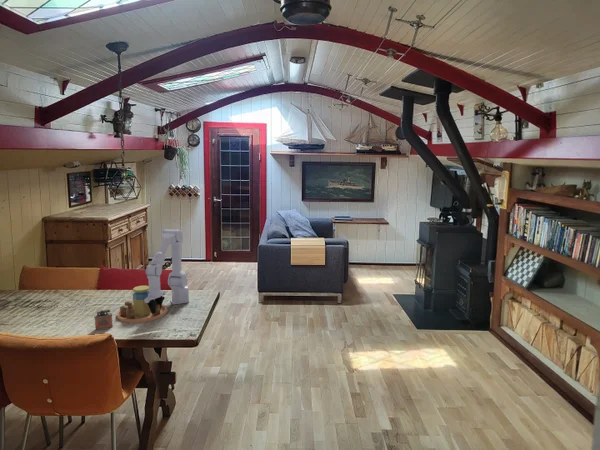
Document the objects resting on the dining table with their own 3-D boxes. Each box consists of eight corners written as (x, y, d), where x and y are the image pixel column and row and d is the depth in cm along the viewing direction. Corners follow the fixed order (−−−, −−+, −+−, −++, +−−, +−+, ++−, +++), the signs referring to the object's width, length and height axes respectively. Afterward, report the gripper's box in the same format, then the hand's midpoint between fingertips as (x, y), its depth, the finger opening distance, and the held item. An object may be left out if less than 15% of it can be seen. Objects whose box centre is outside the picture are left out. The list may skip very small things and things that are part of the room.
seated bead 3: (134, 317, 228) (133, 308, 227) (135, 320, 224) (134, 310, 224) (126, 318, 226) (125, 309, 226) (126, 321, 223) (126, 311, 222)
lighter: (95, 332, 211) (93, 312, 209) (95, 329, 214) (93, 310, 212) (113, 329, 215) (112, 309, 213) (112, 326, 218) (111, 307, 216)
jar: (150, 310, 240) (149, 284, 238) (153, 316, 232) (151, 289, 230) (133, 313, 236) (131, 286, 234) (134, 318, 228) (133, 291, 226)
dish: (163, 304, 250) (163, 300, 250) (170, 319, 228) (169, 315, 227) (116, 310, 240) (116, 306, 240) (118, 327, 217) (117, 322, 217)
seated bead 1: (128, 314, 233) (127, 305, 232) (128, 316, 229) (128, 307, 228) (120, 315, 231) (119, 306, 230) (120, 317, 227) (120, 308, 227)
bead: (159, 312, 233) (158, 303, 232) (161, 314, 230) (160, 305, 229) (151, 313, 231) (151, 304, 230) (153, 316, 228) (153, 307, 227)
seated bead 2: (132, 309, 239) (132, 300, 239) (133, 311, 236) (132, 302, 235) (125, 310, 238) (124, 301, 237) (125, 312, 234) (124, 304, 233)
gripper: (157, 282, 236) (158, 306, 238) (138, 290, 223) (140, 315, 225) (168, 283, 234) (169, 307, 236) (150, 291, 220) (151, 317, 223)
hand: (156, 311), depth 230 cm, fingers closed on bead, 4 cm apart
